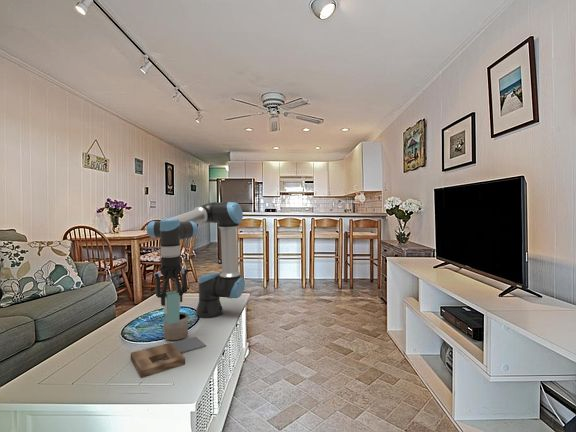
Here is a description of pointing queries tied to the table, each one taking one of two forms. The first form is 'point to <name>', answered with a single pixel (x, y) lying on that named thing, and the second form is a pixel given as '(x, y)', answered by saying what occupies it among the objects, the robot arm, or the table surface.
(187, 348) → the rubber mat
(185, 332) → the planter
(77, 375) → the table surface
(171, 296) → the teal block
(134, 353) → the pocket board
